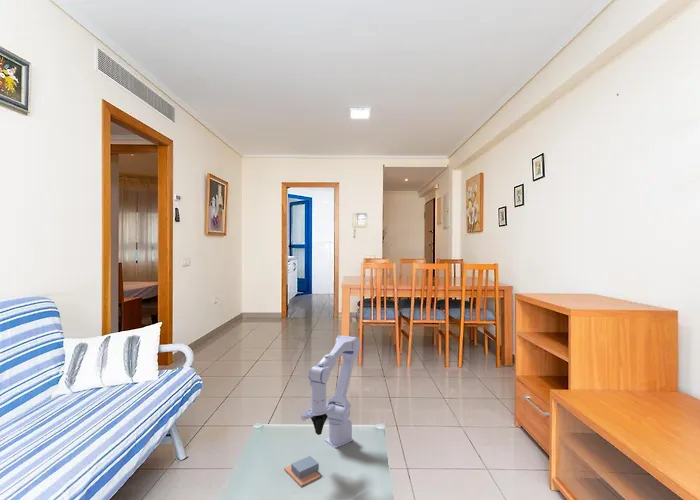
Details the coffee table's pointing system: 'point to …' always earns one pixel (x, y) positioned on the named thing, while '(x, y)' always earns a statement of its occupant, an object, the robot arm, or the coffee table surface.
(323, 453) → the coffee table surface
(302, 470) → the slab
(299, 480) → the mat
